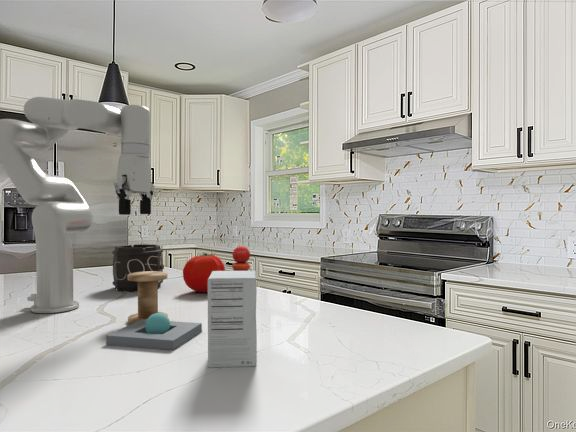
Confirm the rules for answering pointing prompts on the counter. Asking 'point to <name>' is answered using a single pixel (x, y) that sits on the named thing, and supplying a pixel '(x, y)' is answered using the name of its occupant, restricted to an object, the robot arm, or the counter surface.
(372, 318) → the counter surface
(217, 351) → the supplement box
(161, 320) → the teal ball
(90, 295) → the counter surface
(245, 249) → the stacking toy
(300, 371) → the counter surface
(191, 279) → the tomato
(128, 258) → the black lettered canister
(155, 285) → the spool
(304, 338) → the counter surface
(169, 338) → the square hole board
